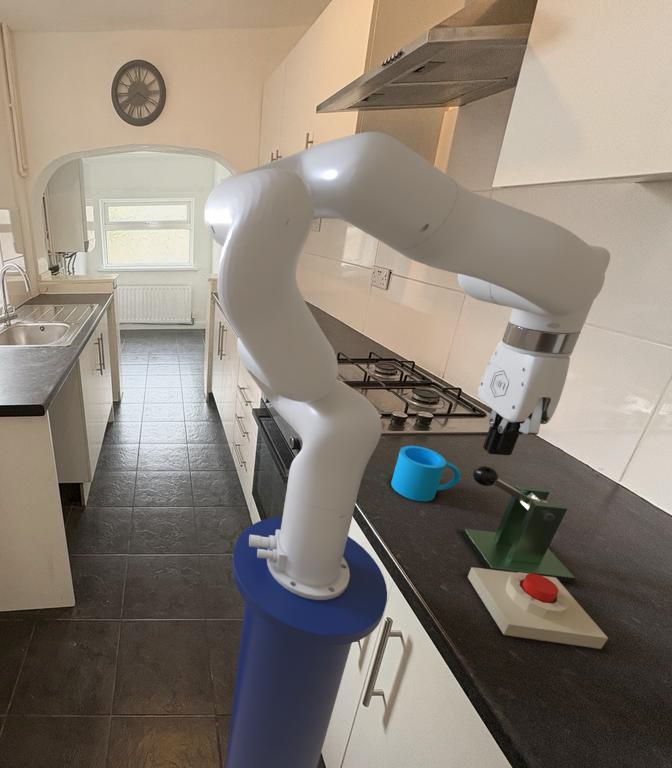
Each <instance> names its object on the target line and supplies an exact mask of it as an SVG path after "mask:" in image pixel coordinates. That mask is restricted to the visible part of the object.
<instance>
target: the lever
mask: <svg viewBox="0 0 672 768" xmlns="http://www.w3.org/2000/svg"><path fill="white" fill-rule="evenodd" d="M472 477H473V479H474V481H475V482H476V483H477V484H478V485H481V486H484V487H492V486H495V487H496V488H498V489H500V490H502V491H503V492H505V493H507V494H509V495H510V496H511V497H512V496H514V497H515V498H517V499H519V500H521V501H520V503H521V504H522V505H523V506H524V507H525V508H526V509H527V510H528V509H529V506H530V504H531V502H532V501H534V502H544V503H549V501H547V499H546V500H544V499H542V498H541V497H539V496H537V495H535V494H534V493H532V492H531V493H530V494H529V495H528V496H527V495H525V494H524V493H522V492H520V491H519V490H517V489H515V487H514V486H511V485H510V484H508V483H506V482H504V481H503V480H501V479H499V473H498V472H497V470H496V469H495V468H493V466H489V465H480V466H477V467H476V468H475V469H473V472H472Z"/></svg>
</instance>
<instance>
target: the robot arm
mask: <svg viewBox="0 0 672 768" xmlns="http://www.w3.org/2000/svg"><path fill="white" fill-rule="evenodd" d="M317 219H318V220H319V219H333V220H334V219H335V220H337V219H338V220H341V221H344V222H346V223H348V224H350V225H352V226H353V227H355V228H357V229H359V230H361V231H362V232H364V233H366V234H367V235H369V236H371V237H373V238H374V239H375V240H378V241H379V242H381V243H383V244H384V245H386V246H388V247H389V248H391V249H393V250H394V251H396V252H398V254H401V255H402V256H404V257H405V258H408V259H410V260H412V261H414V262H416V263H420V264H423V265H426V266H428V267H430V268H434V269H437V270H441V271H445V272H449V273H454V274H457V283H458V286H459V288H460V289H461V290H462V292H463V293H464V294H466V295H467V296H469V297H471V298H473V299H475V300H477V301H481V302H485V303H489V304H493V305H498V306H502V307H507V308H511V309H512V310H511V312H510V316H509V319H508V322H507V324H506V328H505V331H504V333H503V337H502V339H501V340H500V341H499V342H498V344H497V346H496V347H495V349H494V351H493V352H492V355H491V357H490V359H489V361H488V362H487V363H488V364H487V366H486V367H485V370H484V373H483V375H482V377H481V380H480V383H479V387H478V390H477V396H478V398H479V400H481V402H483V403H484V404H485V405H486V406H488V408H489V409H490V416H489V417H490V418H489V421H488V422H489V423H488V424H489V425H490V426H489V427H488V431H487V433H486V437H485V439H484V442H483V445H482V448H483V449H484V450H485V451H486V452H487V453H488V454H489V455H496V456H497V455H500V456H511V455H512V454H513V451H514V449H515V446H516V444H517V441H518V438H519V436H521V435H523V434H525V435H535V436H537V435H539V432H540V427H541V425H546V424H548V423H550V420H552V418H553V417H554V414H555V411H556V409H557V407H558V405H559V402H560V400H561V397H562V394H563V391H564V387H565V384H566V381H567V378H568V377H567V376H568V372H569V368H570V362H571V356H572V354H573V351H574V349H575V347H576V345H577V342H578V340H579V338H580V335H581V332H582V330H583V327H584V325H585V323H586V320H587V318H588V315H589V314H590V311H591V309H592V305H593V303H594V301H595V299H596V298H597V297H598V296H599V294H600V293H601V291H602V289H603V286H604V283H605V279H606V272H607V269H608V267H609V264H610V261H611V253H610V251H609V250H608V249H607V248H605V247H602V246H597V245H592V244H588V243H587V242H586V241H584V240H583V239H582V238H580V237H579V236H577V235H576V234H575V233H573V232H572V231H570V230H568V229H567V228H566V227H564V226H561V225H559V224H557V223H555V222H553V221H551V220H548V219H546V218H544V217H541V216H538V215H536V214H533V213H529V212H527V211H525V210H522V209H518V208H516V207H514V206H511V205H509V204H506V203H503V202H501V201H498V200H496V199H493V198H490V197H487V196H484V195H482V194H479V193H475V192H473V191H471V190H469V189H468V188H466V187H465V186H463V185H462V184H460V183H459V182H457V181H456V180H455V179H454V178H452V177H450V176H449V175H447V174H446V173H445V172H443V171H442V170H441V169H439V168H438V167H437V166H435V165H434V164H432V163H431V162H430V161H428V160H427V159H426V158H425V157H423V156H421V154H418V152H416V151H414V150H413V149H412V148H410V147H409V146H407V145H406V144H404V143H403V142H402V141H400V140H399V139H397V138H395V137H394V136H392V135H389V134H387V133H384V132H381V131H366V132H365V131H364V132H358V133H355V134H354V133H353V134H351V135H347V136H344V137H339V138H334V139H331V140H328V141H323V142H321V143H318V144H316V145H312V146H310V147H307V148H305V149H302V150H300V151H298V152H295V153H292V154H290V155H287V156H285V157H281V158H278V159H276V160H273V161H270V162H267V163H265V164H261V165H258V166H256V167H253V168H250V169H248V170H244V171H241V172H238V173H236V174H232V175H229V176H227V177H226V178H224V179H223V180H221V181H220V182H218V183H217V184H216V185H215V186H214V188H213V189H212V190H211V192H210V194H208V197H207V199H206V201H205V206H204V213H203V220H204V224H205V228H206V230H207V232H208V233H209V235H210V237H211V238H212V239H213V240H214V241H215V242H216V243H217V244H218V245H220V246H221V247H222V249H221V252H220V258H219V264H218V271H217V278H216V279H217V280H216V281H217V282H216V287H217V297H218V301H219V305H220V308H221V310H222V312H223V315H224V317H225V318H226V320H227V322H228V324H229V325H230V327H231V328H232V330H233V331H234V333H235V335H236V336H237V342H236V349H237V355H238V357H239V360H240V362H241V364H242V366H243V367H244V369H245V371H247V373H248V374H249V376H250V377H251V379H252V380H253V381H254V382H255V384H256V386H257V387H258V388H259V390H260V392H262V394H263V395H264V396H265V398H266V399H267V401H268V402H269V403H270V405H271V406H272V407H273V408H274V409H275V411H276V412H277V413H278V415H280V417H281V418H282V419H283V421H285V422H286V423H287V424H288V425H289V426H290V427H291V428H292V429H293V430H294V432H295V433H296V434H297V435H298V436H299V437H300V439H301V443H302V447H301V449H300V451H299V452H298V454H297V455H296V456H295V457H294V458H293V460H292V462H291V464H290V467H289V473H288V476H287V477H288V479H287V486H286V493H285V499H284V506H283V511H282V517H283V518H282V524H281V530H278V529H276V533H275V536H273V535H269V537H261V536H258V535H249V547H255V548H260V547H261V548H268V550H264V549H257V558H264V559H266V558H267V566H268V568H269V571H270V572H271V574H272V576H273V577H274V578H275V579H276V581H277V582H278V583H279V584H281V585H282V586H283V587H284V588H285V589H287V590H289V591H290V592H292V593H294V594H296V595H298V596H301V597H304V598H308V599H313V600H328V599H333V598H335V597H337V596H339V595H340V594H342V593H343V592H344V591H345V589H346V588H347V586H348V582H349V577H350V572H349V567H348V565H347V562H346V561H345V559H344V557H343V554H344V550H345V546H346V542H347V537H348V536H349V533H350V530H351V524H352V520H353V516H354V512H355V509H356V503H357V499H358V494H359V490H360V487H361V483H362V479H363V476H364V473H365V471H366V467H367V465H368V463H369V461H370V459H371V457H372V455H373V453H374V452H375V450H376V447H377V446H378V444H379V442H380V440H381V436H382V433H383V432H382V431H383V422H382V418H381V416H380V413H379V412H378V410H377V408H376V407H375V405H374V404H373V403H372V402H371V401H370V400H369V399H368V398H367V397H365V395H363V394H361V393H360V392H359V391H357V390H356V389H354V388H353V387H351V386H350V385H348V384H346V383H345V382H344V381H342V380H340V379H338V376H339V363H338V358H337V355H336V353H335V350H334V348H333V346H332V345H331V343H330V341H329V340H328V338H327V336H326V335H325V333H324V332H323V330H322V329H321V326H320V325H319V323H318V322H317V320H316V318H315V317H314V315H313V313H312V311H311V309H309V307H308V305H307V303H306V301H305V299H304V296H303V294H302V293H301V290H300V288H299V285H298V282H297V269H298V264H299V259H300V256H301V255H302V254H301V253H302V252H303V248H304V246H305V244H306V242H307V239H308V237H309V235H310V232H311V229H312V227H313V226H312V225H313V223H314V221H315V220H317Z"/></svg>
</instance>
